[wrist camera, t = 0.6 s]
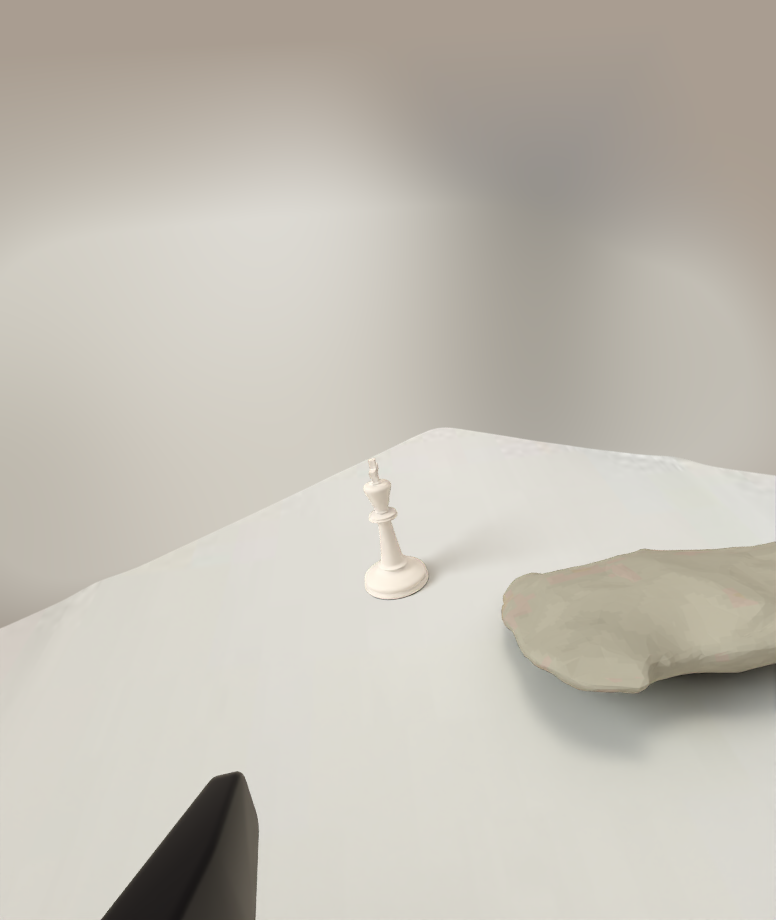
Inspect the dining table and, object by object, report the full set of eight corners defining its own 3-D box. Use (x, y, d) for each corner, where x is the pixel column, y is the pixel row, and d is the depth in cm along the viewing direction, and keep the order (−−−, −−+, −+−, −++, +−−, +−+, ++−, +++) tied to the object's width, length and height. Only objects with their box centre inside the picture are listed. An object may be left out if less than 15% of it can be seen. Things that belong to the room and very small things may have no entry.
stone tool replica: (547, 762, 24) (1161, 670, 23) (527, 650, 24) (1154, 548, 22) (495, 625, 39) (865, 564, 38) (482, 554, 39) (857, 489, 37)
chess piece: (361, 602, 41) (331, 478, 38) (369, 566, 46) (343, 452, 42) (427, 595, 40) (403, 468, 37) (429, 559, 45) (407, 443, 42)
